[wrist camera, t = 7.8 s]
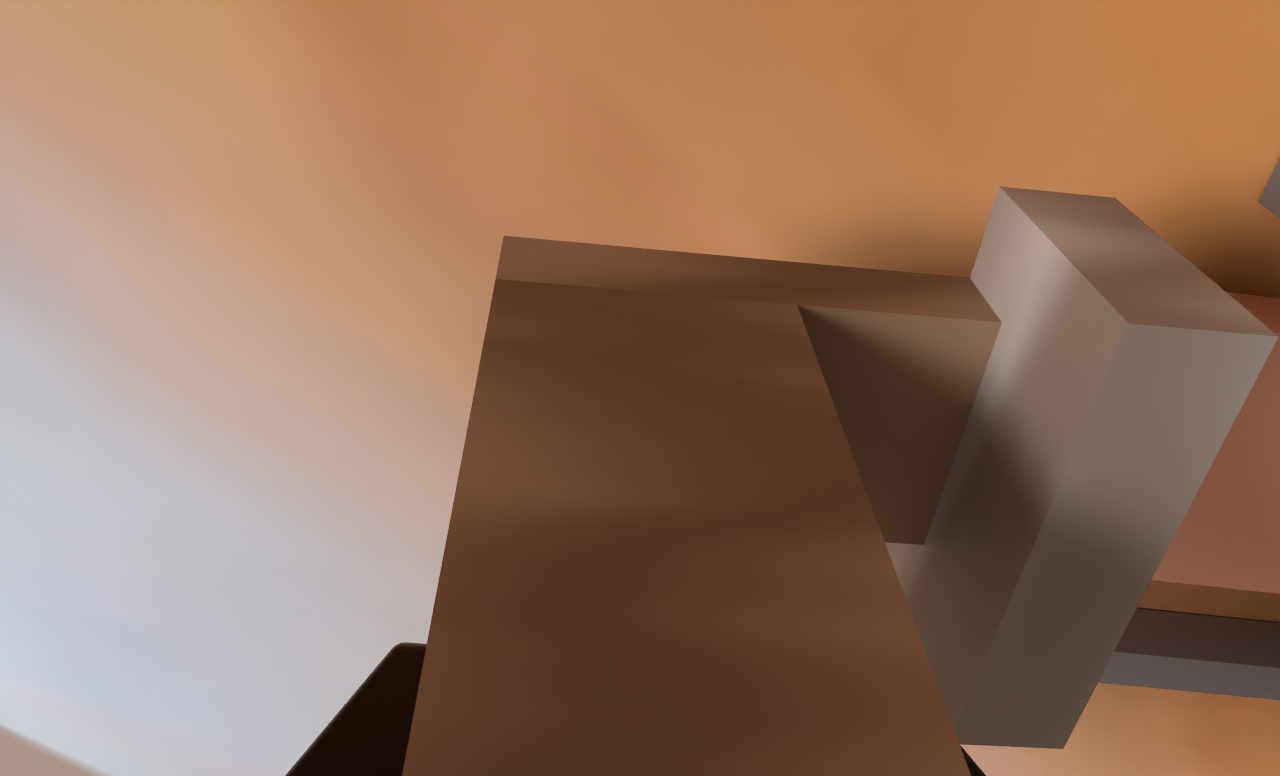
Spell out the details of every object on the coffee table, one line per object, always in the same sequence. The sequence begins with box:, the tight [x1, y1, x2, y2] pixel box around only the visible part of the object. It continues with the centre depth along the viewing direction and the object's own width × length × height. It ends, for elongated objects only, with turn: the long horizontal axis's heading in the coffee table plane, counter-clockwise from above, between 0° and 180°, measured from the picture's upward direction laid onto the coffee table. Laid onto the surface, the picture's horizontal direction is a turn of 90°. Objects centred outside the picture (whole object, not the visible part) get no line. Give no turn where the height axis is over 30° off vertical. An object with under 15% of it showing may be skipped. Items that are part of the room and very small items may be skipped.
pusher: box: [402, 187, 1278, 776], centre depth 10 cm, size 8×6×9 cm
